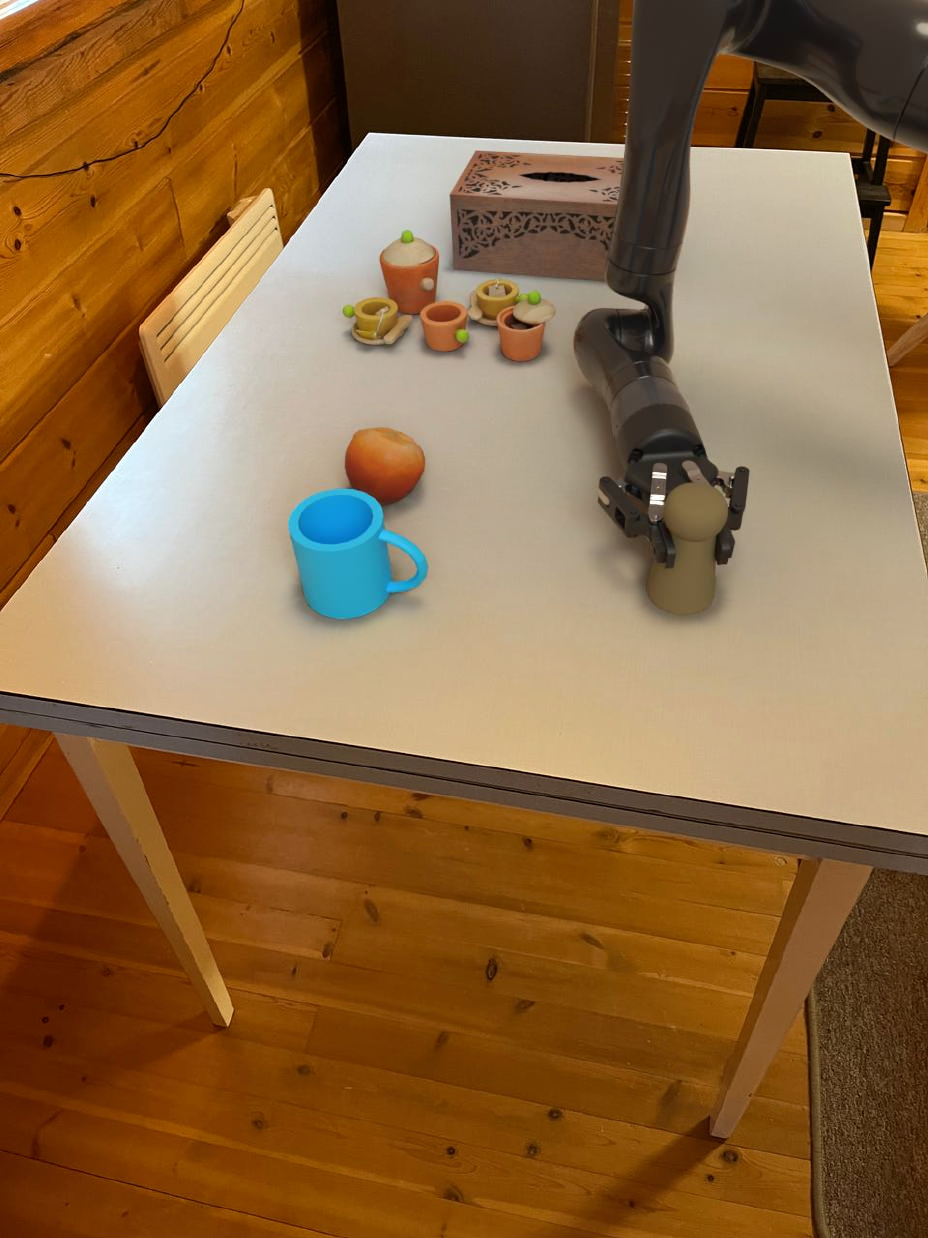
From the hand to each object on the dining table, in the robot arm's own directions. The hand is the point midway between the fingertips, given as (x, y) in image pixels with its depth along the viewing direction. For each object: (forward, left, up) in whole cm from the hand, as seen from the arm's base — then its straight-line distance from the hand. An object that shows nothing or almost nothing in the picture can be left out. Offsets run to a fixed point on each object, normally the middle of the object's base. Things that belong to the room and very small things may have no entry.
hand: (697, 558), depth 76 cm
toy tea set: (+17, -51, -7) cm, 54 cm away
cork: (0, -3, -7) cm, 7 cm away
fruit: (+26, -20, -7) cm, 33 cm away
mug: (+28, -6, -7) cm, 29 cm away
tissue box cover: (+2, -69, -7) cm, 69 cm away
